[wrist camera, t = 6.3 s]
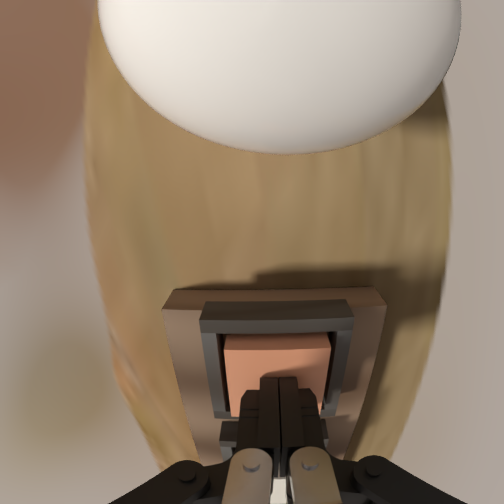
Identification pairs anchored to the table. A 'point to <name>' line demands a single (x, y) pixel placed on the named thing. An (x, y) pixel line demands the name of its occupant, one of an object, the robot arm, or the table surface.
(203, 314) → the button board
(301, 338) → the terracotta button
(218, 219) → the table surface
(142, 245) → the table surface
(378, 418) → the table surface
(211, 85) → the lightbulb
